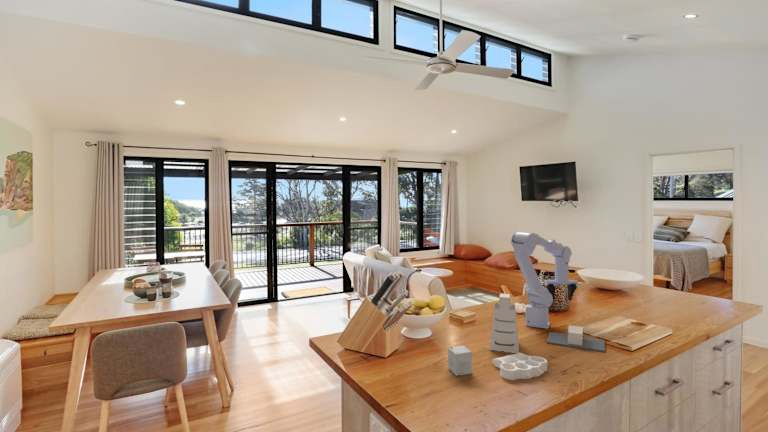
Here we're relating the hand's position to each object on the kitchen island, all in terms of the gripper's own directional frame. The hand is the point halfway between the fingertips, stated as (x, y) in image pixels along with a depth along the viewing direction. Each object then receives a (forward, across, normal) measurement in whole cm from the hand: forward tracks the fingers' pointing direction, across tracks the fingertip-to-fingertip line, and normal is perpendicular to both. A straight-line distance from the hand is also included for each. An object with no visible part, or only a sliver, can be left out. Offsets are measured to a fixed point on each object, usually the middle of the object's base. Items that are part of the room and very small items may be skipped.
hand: (561, 300), depth 178 cm
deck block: (+9, -6, -27) cm, 29 cm away
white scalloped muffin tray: (+10, -35, -52) cm, 63 cm away
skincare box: (+10, -55, -53) cm, 77 cm away
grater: (+10, -35, -32) cm, 48 cm away
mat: (+9, -6, -27) cm, 29 cm away
